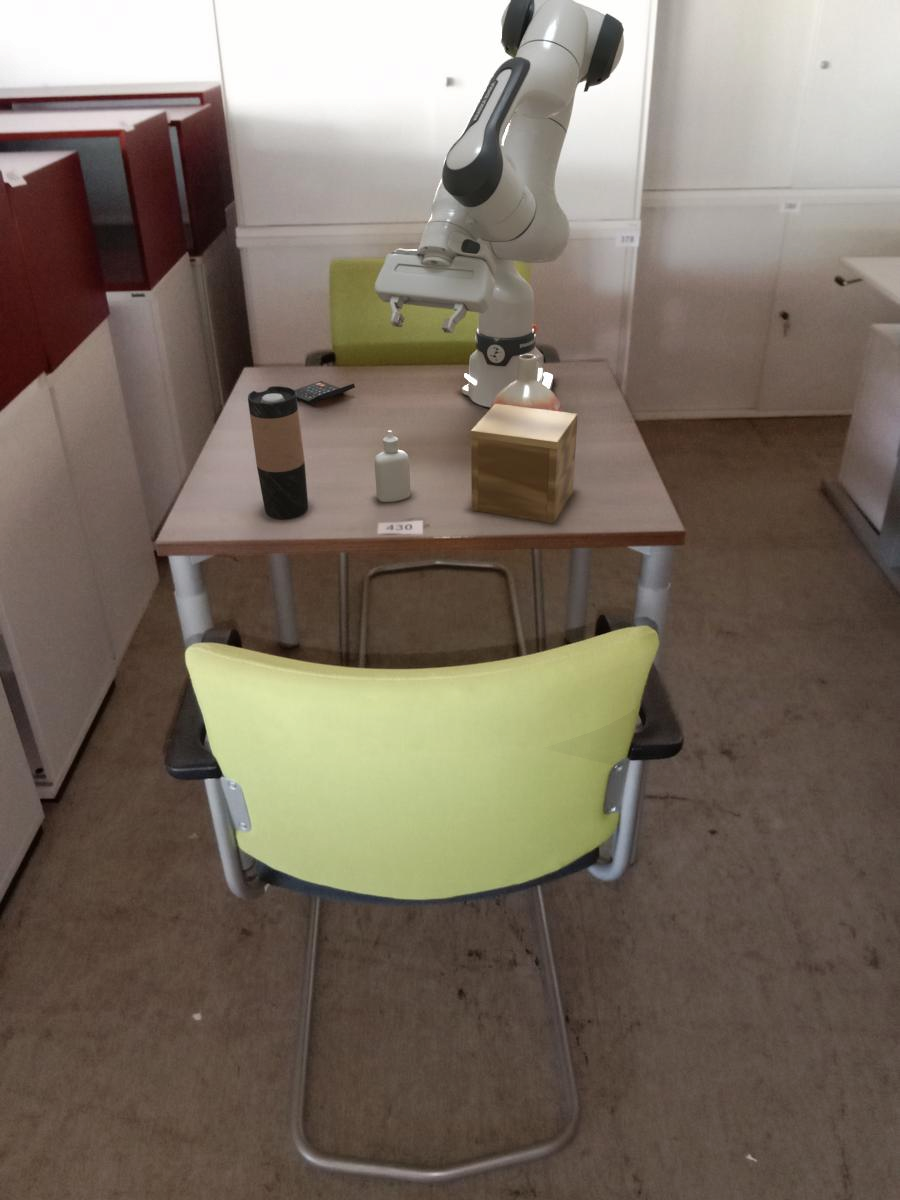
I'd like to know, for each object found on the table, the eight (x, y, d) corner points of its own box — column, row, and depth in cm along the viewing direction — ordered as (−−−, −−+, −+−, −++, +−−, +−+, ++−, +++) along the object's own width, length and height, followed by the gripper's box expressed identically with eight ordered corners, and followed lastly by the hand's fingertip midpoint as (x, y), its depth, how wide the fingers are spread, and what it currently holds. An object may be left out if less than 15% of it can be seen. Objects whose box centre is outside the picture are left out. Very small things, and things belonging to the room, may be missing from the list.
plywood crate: (495, 479, 162) (495, 403, 154) (573, 491, 158) (577, 413, 150) (471, 510, 153) (470, 430, 145) (553, 523, 148) (557, 442, 141)
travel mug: (302, 522, 150) (288, 404, 139) (257, 519, 151) (239, 402, 141) (315, 500, 157) (303, 386, 146) (272, 498, 158) (256, 384, 147)
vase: (559, 466, 166) (564, 370, 156) (483, 462, 168) (483, 368, 158) (563, 436, 177) (568, 345, 168) (492, 433, 179) (493, 342, 170)
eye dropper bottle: (380, 490, 159) (375, 425, 153) (412, 492, 159) (409, 426, 152) (374, 502, 156) (370, 435, 149) (407, 504, 155) (404, 437, 148)
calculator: (321, 384, 203) (319, 371, 202) (356, 397, 197) (355, 383, 195) (287, 396, 198) (285, 382, 196) (321, 409, 191) (320, 396, 189)
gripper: (382, 237, 155) (358, 311, 153) (495, 246, 148) (471, 324, 146) (396, 258, 161) (372, 330, 159) (505, 268, 154) (482, 344, 152)
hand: (421, 328), depth 153 cm, fingers open, 8 cm apart
